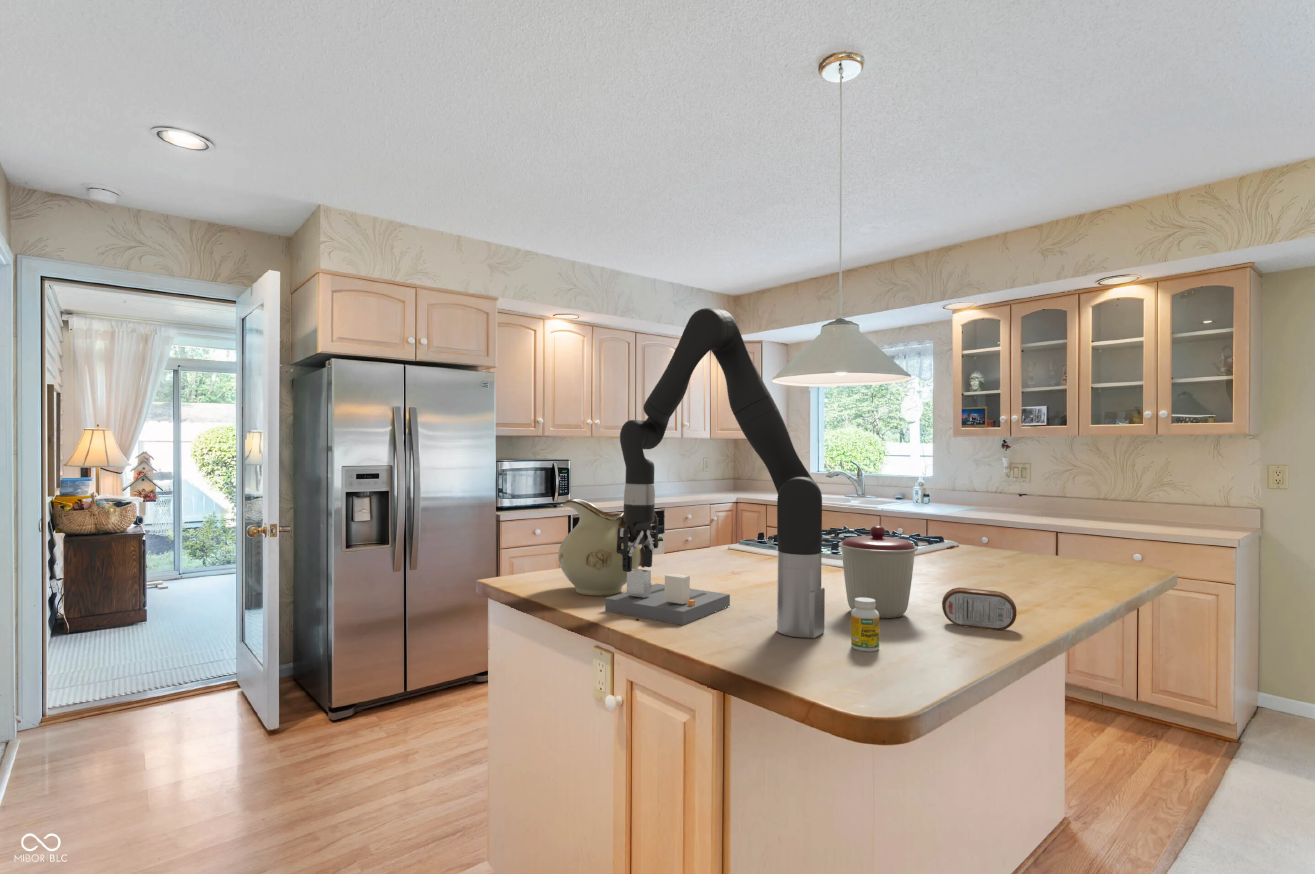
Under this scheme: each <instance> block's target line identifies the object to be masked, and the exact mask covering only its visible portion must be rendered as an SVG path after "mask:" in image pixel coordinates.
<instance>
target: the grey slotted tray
mask: <svg viewBox="0 0 1315 874" xmlns="http://www.w3.org/2000/svg"><path fill="white" fill-rule="evenodd" d="M664 600H665V584H662V583H654V584H653V583H652V582H651V596H647V597H644V598H642V597H636V596H630V595H627V591H626V592H623V593H618V594H614V595H612V596H609V597H608V596H607V597H605V603H604V604H605V605H604V606H605V610H604V611H605V612H608V613H615V614H616V613H617V614H620V615H625V616H630V617H631V616H632V617H637V618H641V617H642V618H643V619H646V620H647V619H648V620H652V619H653V620H654V621H658V622H663V621H666V622H665V623H668V622H670V623H669V624H674V623H675V624H674V625H679V624H680V626H684V624H685V625H688V624H689V623H692V622H694V621H697V620H699V618H700V619H702V618H705V617H707V616H710V615H712V614H714V613H713V612H715V611H717V612H719V610H720V611H722V610H724V609H723V608H725V607H727V608H729V607H728V606H730V607H731V594H729V593H722V592H716V591H710V590H704V589H696V588H690V594H689V600H688V602H687V603H684V604H679V603H673V602H667V601H664ZM721 609H722V610H721ZM725 609H726V608H725ZM711 613H712V614H711ZM715 613H716V612H715ZM709 614H710V615H709ZM704 616H705V617H704ZM642 618H641V619H642ZM687 623H688V624H687Z"/></svg>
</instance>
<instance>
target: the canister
mask: <svg viewBox="0 0 1315 874" xmlns="http://www.w3.org/2000/svg"><path fill="white" fill-rule="evenodd" d="M869 532H870V533H869V534H870V535H860V536H858V535H857V536H850V537H846V538H845V539H844V540H843V541H840V542H839V543H838V545H839V547H840V548H841V556H842V557H841V558H842V565H843V566H842V567H843V576H844V583H845V593H846V600H847V604H848V606H849V609H850V610H851V611H852V610H853V609H855V608H856V606H855V605H854V602H855V598H871V599H874V600H875V601H876V606H875V608H874V609H875V610H876V611H878V613H879V619H895V618H900V617H901V616H903V615H905V614H906V611H907V609H908V607H909V601H910V597H911V596H910V595H911V588H912V580H913V572H914V564H915V563H914V562H915V553H916V552H917V551H918V549H919V547H918V546H916V545H914V544H913V543H912V542H911V541H909V540H907V539H903V538H897V537H891V536H885V535H886V529H885V528H884V526H881V525H874V526H872V527H871V528H870V529H869Z"/></svg>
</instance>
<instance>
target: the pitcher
mask: <svg viewBox="0 0 1315 874" xmlns="http://www.w3.org/2000/svg"><path fill="white" fill-rule="evenodd" d="M562 506H563V507H567V508H570V509H573V510H574V511H576V512H577V514H578V516H579V520H578V523H577V524H576V525H575V526H574V528H573V529H572V530H571V531H570V532H569V533H568V534H567V535H566V536H565V537H564V539H563V540H562V542H561V544H560V546H559V549H558V563H559V567H560V568H561V571H562V574H563V575H564V576H565V577H566V578H567V580H568V581H569V582H570V583H571V584H572V585H573V586H574V587H575V592H576V593H577V594H580V595H584V596H590V597H592V596H593V597H603V596H607V597H608V596H611V595H612V596H614V595H618V594H620V593H621V592H622V588H623V587H624V586H625V585H627V572H625V571H623V568H622V555H621V554H619V553H617V552H616V550H617V534H618V528H625V529H626V527H627V522H625V521H624V520H623V515H624V511H622V512H620V513H619V514H611V513H609V512H606V511H603V510H602V509H600V508H598V507H597V506H595V505H594V504H592V503H591V502H589V501H587V500H583V499H581V498H576V497H575V498H570V499H567V500H566V501H564V502H563V503H562ZM650 524H656V525H658V526H659V519H658V515H657V513H656V512H655V511H654V521H653V522H651V523H650ZM652 540H654V539H653V538H652ZM629 543H630V541H629ZM621 549H623V543H622V544H621ZM628 551H629V548H628ZM643 552H644V549H643V547H642V546H640V545H638V546H637V548H635V549H634V551H633V553H632V555H631V556H632V569H634V568H635V569H639V567H641V569H643V568H645V567H644V566H643Z"/></svg>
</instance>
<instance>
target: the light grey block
mask: <svg viewBox="0 0 1315 874" xmlns="http://www.w3.org/2000/svg"><path fill="white" fill-rule="evenodd" d="M651 578H652V570H648V569H643V568H641V569H640V568H638V569H635V568H634V569H632V571H631V572H627V583H626V592H627V595H630V596H636V597H642V598H644V597H647V596H651V583H652V579H651Z"/></svg>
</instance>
